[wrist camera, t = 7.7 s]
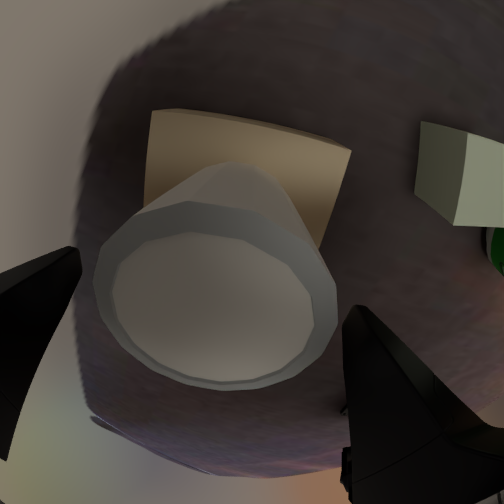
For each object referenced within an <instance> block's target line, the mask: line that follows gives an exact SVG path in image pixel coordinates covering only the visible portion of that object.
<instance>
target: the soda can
mask: <svg viewBox="0 0 504 504" xmlns="http://www.w3.org/2000/svg"><path fill="white" fill-rule="evenodd" d="M486 242H487V249H486V250H487V255H488V259H489V261H490V262H491V263H492V264H493V266H494V267H495V268H496V269H497V270H498V271H499V272H500V273H501V274H502V275H503V276H504V228H502V227H487V230H486Z"/></svg>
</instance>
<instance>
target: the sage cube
mask: <svg viewBox="0 0 504 504" xmlns="http://www.w3.org/2000/svg"><path fill="white" fill-rule="evenodd" d="M414 194H415V195H416V196H418V197H419V198H420V199H422V200H423V201H424V202H425V203H427V204H428V205H429V206H430V207H432V208H433V209H434V210H435V211H437V212H438V213H439V214H440V215H441V216H443V217H444V218H445V219H446V220H447V221H449V222H450V223H451V224H452V225H458V226H482V227H502V228H504V144H502V143H499V142H496V141H493V140H491V139H488V138H485V137H482V136H479V135H475V134H472V133H469V132H465V131H462V130H458V129H454V128H450V127H446V126H442V125H438V124H433V123H429V122H424V121H421V128H420V144H419V156H418V166H417V174H416V182H415V189H414Z"/></svg>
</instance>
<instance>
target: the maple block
mask: <svg viewBox="0 0 504 504" xmlns="http://www.w3.org/2000/svg"><path fill="white" fill-rule="evenodd" d="M350 154H351V150H350V149H348V148H346V147H344V146H343V145H341V144H339V143H337V142H335V141H334V140H332V139H329V138H326V137H322V136H319V135H315V134H312V133H308V132H304V131H301V130H297V129H293V128H289V127H285V126H281V125H276V124H272V123H267V122H263V121H258V120H253V119H248V118H243V117H237V116H232V115H226V114H219V113H213V112H206V111H198V110H190V109H181V108H175V109H164V110H154V111H152V117H151V124H150V132H149V140H148V150H147V160H146V172H145V186H144V206H143V208H144V207H146V206H147V205H148V204H150V203H151V202H153V201H154V200H156V199H157V198H159V197H160V196H162V195H163V194H165V193H166V192H168V191H169V190H171V189H172V188H174V187H175V186H177V185H178V184H180V183H181V182H183V181H184V180H186V179H187V178H189V177H191V176H192V175H194V174H195V173H197V172H199V171H200V170H202V169H204V168H205V167H208V166H212V165H216V164H220V163H224V162H228V161H233V162H240V163H246V164H253V165H256V166H257V167H259V168H261V169H262V170H264V171H266V172H267V173H269V174H271V175H272V176H274V177H275V178H276V179H277V180H278V182H279V183H280V184H281V186H282V187H283V189H284V190H285V192H286V193H287V194H288V196H289V197H290V199H291V201H292V203H293V204H294V206H295V208H296V210H297V212H298V213H299V215H300V217H301V219H302V221H303V222H304V224H305V226H306V228H307V230H308V232H309V234H310V235H311V237H312V239H313V241H314V243H315V245H316V247H317V249H319V247H320V244H321V241H322V239H323V236H324V233H325V230H326V227H327V225H328V222H329V219H330V216H331V213H332V210H333V207H334V204H335V201H336V198H337V195H338V192H339V189H340V186H341V183H342V180H343V177H344V174H345V170H346V167H347V164H348V161H349V157H350Z"/></svg>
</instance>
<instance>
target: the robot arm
mask: <svg viewBox="0 0 504 504" xmlns="http://www.w3.org/2000/svg"><path fill="white" fill-rule="evenodd" d="M81 275H82V264H81V258H80V252H79V250H78V249H77V248H75V247H71V246H66V247H64V248H61V249H58V250H56V251H53V252H51V253H48V254H46V255H43V256H41V257H38V258H36V259H33V260H31V261H28V262H26V263H24V264H22V265H19V266H16V267H14V268H12V269H10V270H7V271H5V272H3V273H0V458H1V459H2V460H4V461H7V458H8V454H9V450H10V446H11V442H12V438H13V435H14V432H15V428H16V425H17V421H18V418H19V415H20V412H21V409H22V406H23V403H24V401H25V398H26V395H27V393H28V390H29V388H30V385H31V382H32V380H33V378H34V375H35V373H36V370H37V368H38V366H39V364H40V361H41V359H42V357H43V355H44V352H45V350H46V348H47V346H48V344H49V342H50V340H51V338H52V336H53V334H54V332H55V330H56V328H57V326H58V324H59V322H60V320H61V319H62V317H63V315H64V313H65V311H66V309H67V306H68V304H69V302H70V299H71V297H72V295H73V293H74V290H75V288H76V286H77V284H78V282H79V280H80V278H81ZM342 344H343V371H344V380H345V388H346V397H347V406H346V407H345V408H344V409H343V410H342V411H341V412H340V414H341V415H342V416H347V415H348V417H349V429H350V442H351V446H350V447H345V448H343V452H342V471H341V477H340V483H342V484H343V485H344V487H345V489H346V491H347V492H349V496H348V497H349V498H348V499H349V501H350V502H351V503H352V504H504V428H497V427H493V426H490V425H488V424H487V423H485V422H484V421H483V420H481V419H480V418H479V417H478V416H477V415H476V414H475V413H474V412H473V411H472V410H471V409H470V408H469V407H468V406H466V405H465V404H464V403H463V402H462V401H461V400H460V399H459V398H458V397H457V396H456V395H455V394H454V393H453V392H452V391H451V390H450V389H449V388H448V387H447V386H446V385H445V384H444V383H443V382H442V381H441V380H440V379H439V378H438V377H437V376H436V375H434V373H433V372H432V371H431V370H430V369H429V368H428V367H427V366H426V365H425V364H424V363H423V362H422V361H421V360H420V359H419V358H418V357H417V356H416V355H415V354H414V353H413V352H412V351H411V350H410V349H409V348H408V347H407V346H406V345H405V344H404V343H403V342H402V341H401V340H400V339H399V338H398V337H397V336H396V335H395V334H394V333H393V332H392V331H391V330H390V329H389V328H388V327H387V326H386V325H385V324H384V323H383V322H382V321H381V320H380V319H379V318H378V317H377V316H376V315H375V314H374V313H373V312H372V311H370V310H369V309H368V308H367V307H366V306H363V305H353V306H352V308H351V310H350V311H349V313H348V315H347V317H346V319H345V320H344V322H343V325H342ZM0 504H5V503H3V502H2V501H1V500H0Z"/></svg>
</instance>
